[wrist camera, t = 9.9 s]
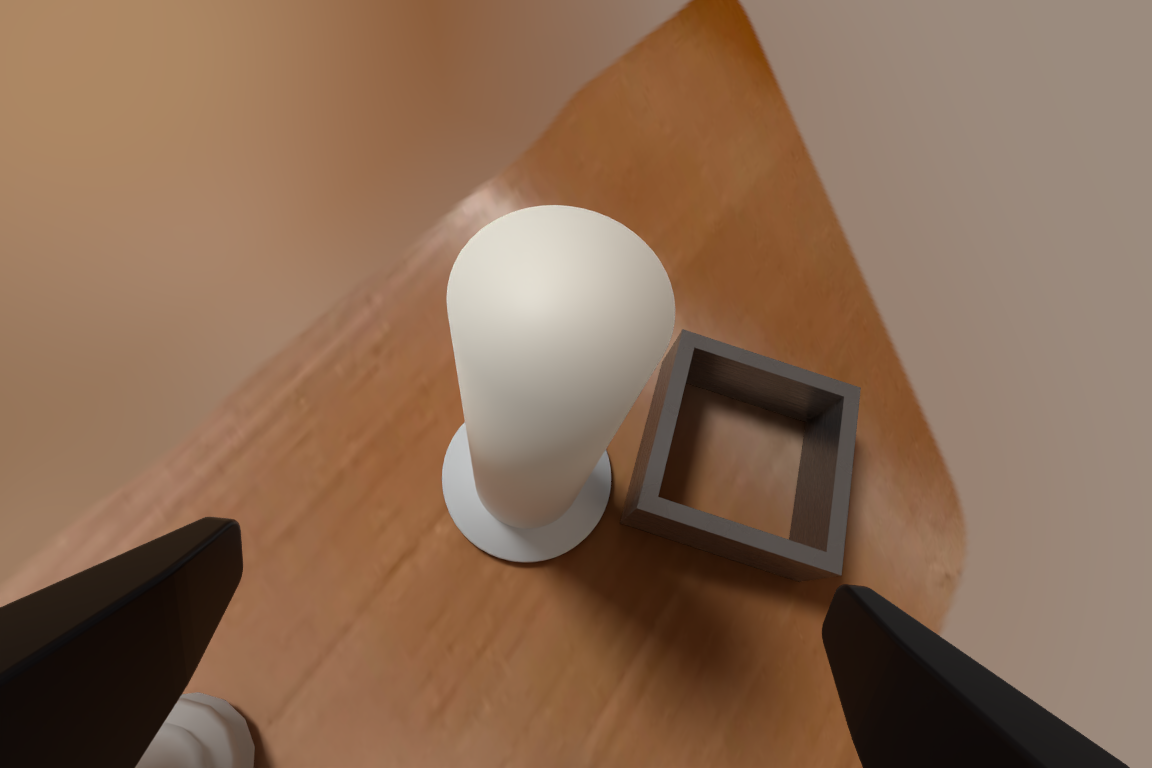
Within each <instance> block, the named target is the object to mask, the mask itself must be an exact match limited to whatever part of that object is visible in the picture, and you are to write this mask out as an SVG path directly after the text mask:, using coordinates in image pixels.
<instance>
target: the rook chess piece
mask: <svg viewBox="0 0 1152 768" xmlns="http://www.w3.org/2000/svg"><path fill="white" fill-rule="evenodd" d="M254 752H255V746H254V743H253V741H252V738H251V735H250V732H249V729H248V726H247V723H246V720H245V719H244V718H243V717H242V716H241V715H240V714H239V713H238V712H237V711H236V710H235V709H234V708H233V707H232V706H231V705H230V704H229V703H228V702H227V701H226V700H223V699H220V698H216V697H213V696H210V695H206V694H203V693H199V692H197V693H190V694H183V695H181V696H180V698H179V700H178V701H177V703H176V704H175V706H174V708H173V709H172V711H171V712H170V714H169V715H168V717H167V719H166V720H165V722H164V723H163V725H162V726H161V728H160V730H159V731H158V733H157V734H156V736H155V737H154V739H153V741H152V742H151V744H150V745H149V747H148V748H147V750H146V752H145V753H144V755H143V756H142V758H141V759H140V761H139V763H138V764H137V766H136V767H135V768H254Z"/></svg>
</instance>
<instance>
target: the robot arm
mask: <svg viewBox="0 0 1152 768" xmlns="http://www.w3.org/2000/svg"><path fill="white" fill-rule="evenodd" d="M242 572H243V556H242V542H241V530H240V525H239V523H238V522H237V521H236V520H234V519H227V518H217V517H205V518H202V519H200V520H198V521H195V522H193V523H191V524H189V525H186V526H184V527H182V528H179V529H177V530H175V531H173V532H170V533H168V534H166V535H164V536H161V537H159V538H157V539H155V540H152V541H150V542H148V543H145V544H143V545H141V546H139V547H136V548H134V549H132V550H130V551H127V552H125V553H123V554H121V555H118V556H116V557H114V558H112V559H109V560H107V561H105V562H102V563H100V564H98V565H96V566H93V567H91V568H89V569H87V570H84V571H82V572H80V573H77V574H75V575H73V576H71V577H68V578H66V579H64V580H62V581H59V582H57V583H55V584H53V585H50V586H48V587H46V588H43V589H41V590H39V591H37V592H34V593H32V594H30V595H28V596H25V597H23V598H21V599H18V600H16V601H14V602H12V603H9V604H7V605H5V606H3V607H0V768H135V767H136V766H137V764H138V763H139V761H140V759H141V758H142V756H143V755H144V753H145V752H146V750H147V748H148V747H149V745H150V744H151V742H152V741H153V739H154V737H155V736H156V734H157V733H158V731H159V730H160V728H161V726H162V725H163V723H164V722H165V720H166V719H167V717H168V715H169V714H170V712H171V711H172V709H173V708H174V706H175V704H176V703H177V701H178V700H179V698H180V696H181V695H182V693H183V691H184V690H185V688H186V686H187V685H188V683H189V681H190V679H191V677H192V676H193V674H194V672H195V670H196V668H197V666H198V664H199V662H200V660H201V658H202V656H203V654H204V652H205V650H206V648H207V646H208V644H209V642H210V640H211V638H212V636H213V634H214V632H215V630H216V628H217V627H218V625H219V623H220V621H221V619H222V617H223V615H224V613H225V611H226V609H227V607H228V605H229V603H230V601H231V599H232V597H233V595H234V593H235V591H236V589H237V587H238V585H239V582H240V580H241V577H242ZM822 639H823V643H824V647H825V650H826V654H827V657H828V660H829V664H830V667H831V671H832V674H833V677H834V681H835V684H836V688H837V691H838V694H839V698H840V701H841V705H842V708H843V711H844V715H845V718H846V722H847V725H848V728H849V731H850V734H851V737H852V740H853V743H854V745H855V748H856V751H857V753H858V756H859V759H860V761H861V764H862V766H863V768H1129V767H1128V766H1127V765H1126V764H1124V763H1123V762H1122V761H1120V760H1119V759H1117V758H1115V757H1114V756H1113V755H1111V754H1110V753H1108V752H1107V751H1105V750H1104V749H1103V748H1101V747H1100V746H1098V745H1097V744H1095V743H1094V742H1092V741H1091V740H1089V739H1088V738H1087V737H1085V736H1084V735H1082V734H1081V733H1079V732H1078V731H1076V730H1075V729H1074V728H1072V727H1071V726H1069V725H1068V724H1066V723H1065V722H1063V721H1062V720H1060V719H1059V718H1058V717H1056V716H1055V715H1053V714H1052V713H1050V712H1049V711H1047V710H1046V709H1044V708H1043V707H1042V706H1040V705H1039V704H1037V703H1036V702H1034V701H1033V700H1031V699H1030V698H1028V697H1027V696H1026V695H1024V694H1023V693H1021V692H1020V691H1018V690H1017V689H1015V688H1014V687H1013V686H1011V685H1010V684H1008V683H1007V682H1005V681H1004V680H1002V679H1001V678H1000V677H998V676H996V675H995V674H994V673H992V672H991V671H989V670H988V669H986V668H985V667H984V666H982V665H981V664H979V663H978V662H976V661H975V660H973V659H972V658H971V657H969V656H968V655H966V654H965V653H963V652H962V651H960V650H959V649H957V648H956V647H955V646H953V645H952V644H950V643H949V642H947V641H946V640H944V639H943V638H942V637H940V636H939V635H937V634H936V633H934V632H933V631H931V630H930V629H928V628H927V627H926V626H924V625H923V624H921V623H920V622H918V621H917V620H915V619H914V618H913V617H911V616H910V615H908V614H907V613H905V612H904V611H902V610H901V609H899V608H898V607H897V606H895V605H894V604H892V603H891V602H889V601H888V600H886V599H885V598H883V597H882V596H881V595H879V594H878V593H876V592H875V591H873V590H872V589H870V588H868V587H865V586H856V585H847V584H844V585H841V586H839V587H838V588H837V590H836V592H835V594H834V597H833V599H832V602H831V604H830V607H829V610H828V612H827V615H826V617H825V620H824V622H823V627H822Z"/></svg>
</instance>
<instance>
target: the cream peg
mask: <svg viewBox="0 0 1152 768" xmlns="http://www.w3.org/2000/svg"><path fill="white" fill-rule="evenodd" d="M447 309H448V317H449V324H450V330H451V336H452V343H453V349H454V355H455V362H456V368H457V374H458V380H459V387H460V393H461V399H462V406H463V412H464V418H465V425H466V431H467V437H468V444H469V450H470V456H471V463H472V469H473V475H474V481H475V487H476V491H477V494H478V497H479V499H480V501H481V503H482V504H483V506H484V507H485V509H486V510H487V511H488V512H489V513H490V514H491V515H492V516H493V517H495V518H496V519H497V520H499V521H501V522H502V523H504V524H507V525H509V526H512V527H516V528H523V529H532V528H539V527H542V526H546V525H548V524H550V523H552V522H554V521H556V520H557V519H559V518H560V517H561V516H562V515H564V513H565V512H566V511H567V510H568V509H569V508H570V506H571V505H572V504H573V502H574V500H575V499H576V497H577V495H578V494H579V492H580V491H581V489H582V487H583V486H584V484H585V482H586V481H587V479H588V478H589V476H590V474H591V473H592V471H593V469H594V468H595V466H596V464H597V463H598V461H599V460H600V458H601V456H602V455H603V453H604V451H605V450H606V448H607V447H608V445H609V443H610V442H611V440H612V438H613V437H614V435H615V434H616V432H617V430H618V429H619V427H620V425H621V424H622V422H623V420H624V419H625V417H626V416H627V414H628V412H629V411H630V409H631V407H632V406H633V404H634V403H635V401H636V399H637V398H638V396H639V394H640V393H641V391H642V389H643V388H644V386H645V385H646V383H647V381H648V380H649V378H650V376H651V375H652V373H653V372H654V370H655V368H656V367H657V365H658V363H659V362H660V360H661V359H662V357H663V355H664V353H665V351H666V349H667V347H668V345H669V342H670V339H671V337H672V333H673V328H674V323H675V302H674V294H673V290H672V286H671V283H670V280H669V278H668V275H667V273H666V271H665V269H664V267H663V265H662V264H661V262H660V260H659V259H658V257H657V256H656V255H655V253H654V252H653V251H652V249H651V248H650V247H649V246H648V245H647V244H646V243H645V242H644V241H643V240H642V239H641V238H640V237H639V236H637V235H636V234H635V233H634V232H633V231H631V230H630V229H628V228H627V227H625V226H624V225H622V224H621V223H619V222H617V221H615V220H613V219H611V218H609V217H607V216H604V215H602V214H599V213H597V212H594V211H590V210H587V209H583V208H577V207H571V206H560V205H548V206H536V207H530V208H525V209H522V210H518V211H514V212H512V213H509V214H507V215H504V216H502V217H500V218H498V219H496V220H494V221H493V222H491V223H489V224H488V225H487V226H485V227H484V228H482V229H481V230H480V231H479V232H478V233H476V234H475V235H474V236H473V237H472V238H471V239H470V240H469V242H468V243H467V244H466V245H465V247H464V248H463V249H462V250H461V252H460V254H459V256H458V257H457V259H456V261H455V263H454V266H453V268H452V271H451V273H450V278H449V282H448V287H447Z"/></svg>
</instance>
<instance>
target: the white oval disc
mask: <svg viewBox="0 0 1152 768" xmlns="http://www.w3.org/2000/svg"><path fill="white" fill-rule="evenodd" d="M442 485H443V493H444V498H445V502H446V505H447V507H448V510H449V513H450V515H451V517H452V519H453V521H454V522H455V524H456V526H457V527H458V528H459V530H460V531H461V532H462V534H463V535H464V536H465V537H466V538H467V539H468V540H469V541H470V542H471V543H473V544H474V545H475V546H477V547H478V548H479V549H481V550H483V551H484V552H486V553H488V554H490V555H492V556H495V557H497V558H500V559H504V560H508V561H513V562H522V563H525V562H539V561H545V560H548V559H552V558H555V557H557V556H560V555H562V554H564V553H566V552H568V551H569V550H571V549H572V548H574V547H576V546H577V545H578V544H579V543H580V542H582V541H583V540H584V539H585V538H586V537H587V536H588V535H589V534H590V533H591V531H592V530H593V529H594V528H595V526H596V525H597V523H598V522H599V520H600V519H601V517H602V515H603V513H604V511H605V508H606V505H607V502H608V499H609V494H610V489H611V468H610V463H609V458H608V455H607V451H606V450H605V451H604V453H603V455H602V456H601V458H600V460H599V461H598V463H597V464H596V466H595V468H594V469H593V471H592V473H591V474H590V476H589V478H588V479H587V481H586V482H585V484H584V486H583V487H582V489H581V491H580V492H579V494H578V495H577V497H576V499H575V500H574V502H573V504H572V505H571V506H570V508H569V509H568V510H567V511H566V512H565V513H564V515H562V516H561V517H560V518H559V519H557V520H556V521H554V522H552V523H550V524H548V525H546V526H542V527H539V528H532V529H523V528H516V527H512V526H509V525H507V524H504V523H502V522H501V521H499V520H497V519H496V518H495V517H493V516H492V515H491V514H490V513H489V512H488V511H487V510H486V509H485V507H484V506H483V504H482V503H481V501H480V499H479V497H478V494H477V491H476V487H475V481H474V475H473V469H472V463H471V456H470V450H469V444H468V437H467V431H466V425H465V422H464V424H463V425H462V426H461V427H460V428H459V429H458V431H457V432H456V434H455V435H454V437H453V439H452V441H451V443H450V445H449V447H448V450H447V453H446V456H445V459H444V464H443V471H442Z"/></svg>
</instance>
